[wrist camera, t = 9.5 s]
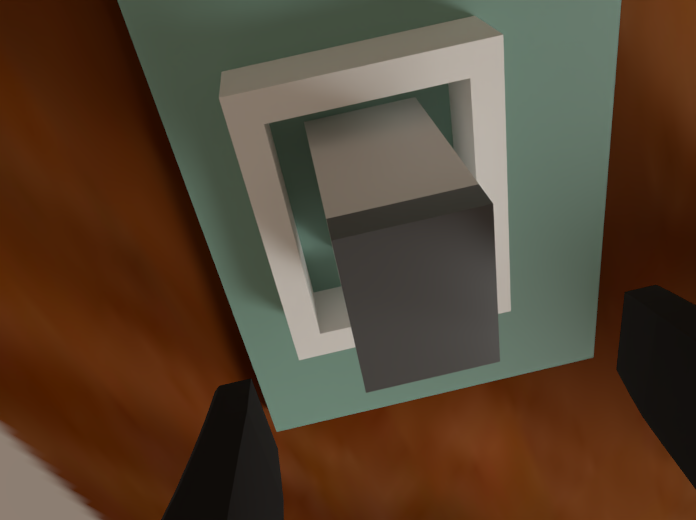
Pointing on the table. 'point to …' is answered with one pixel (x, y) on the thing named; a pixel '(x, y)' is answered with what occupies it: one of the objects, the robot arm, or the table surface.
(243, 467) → the robot arm
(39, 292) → the table surface
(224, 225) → the socket board
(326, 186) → the plug
